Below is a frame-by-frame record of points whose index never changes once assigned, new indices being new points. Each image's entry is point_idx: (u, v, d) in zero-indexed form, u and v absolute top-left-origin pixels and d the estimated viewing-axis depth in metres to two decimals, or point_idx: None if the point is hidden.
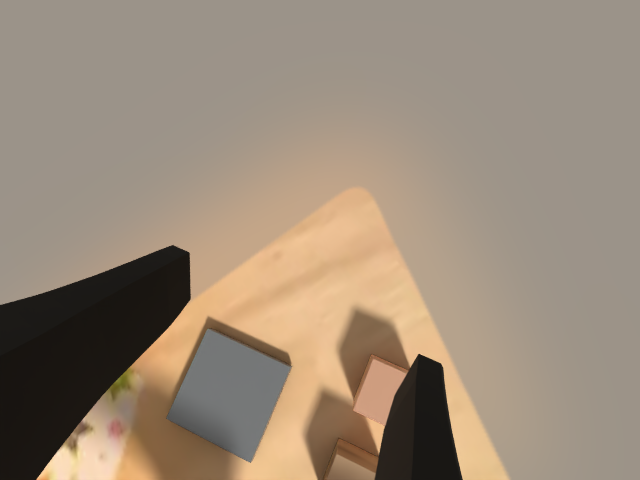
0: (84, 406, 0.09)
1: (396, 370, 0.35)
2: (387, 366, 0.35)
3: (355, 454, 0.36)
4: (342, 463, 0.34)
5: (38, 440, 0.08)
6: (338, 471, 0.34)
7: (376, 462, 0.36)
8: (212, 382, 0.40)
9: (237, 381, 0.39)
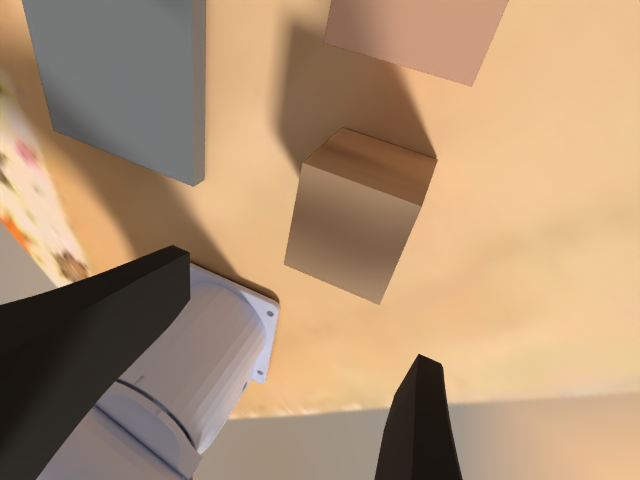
0: (84, 406, 0.09)
1: None
2: None
3: (365, 158, 0.15)
4: (318, 181, 0.14)
5: (39, 440, 0.08)
6: (313, 199, 0.14)
7: (420, 170, 0.15)
8: (75, 51, 0.19)
9: (110, 37, 0.18)
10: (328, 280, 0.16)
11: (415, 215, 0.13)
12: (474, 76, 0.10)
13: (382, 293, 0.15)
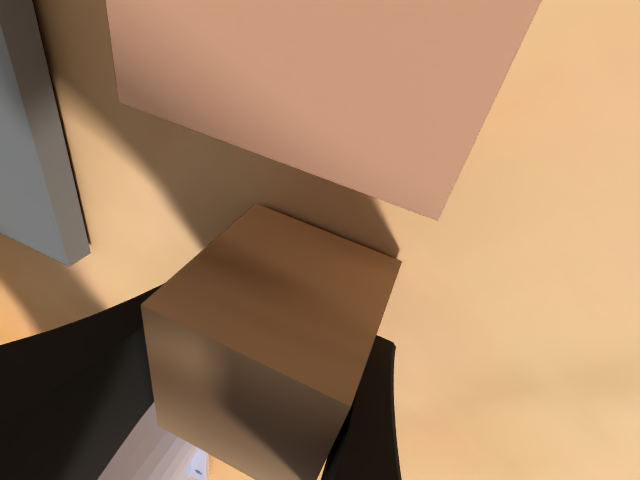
0: (125, 429, 0.09)
1: None
2: None
3: (274, 274, 0.09)
4: (173, 336, 0.08)
5: (84, 467, 0.08)
6: (172, 357, 0.08)
7: (367, 294, 0.09)
8: None
9: None
10: (224, 459, 0.10)
11: (341, 416, 0.07)
12: (442, 199, 0.04)
13: None
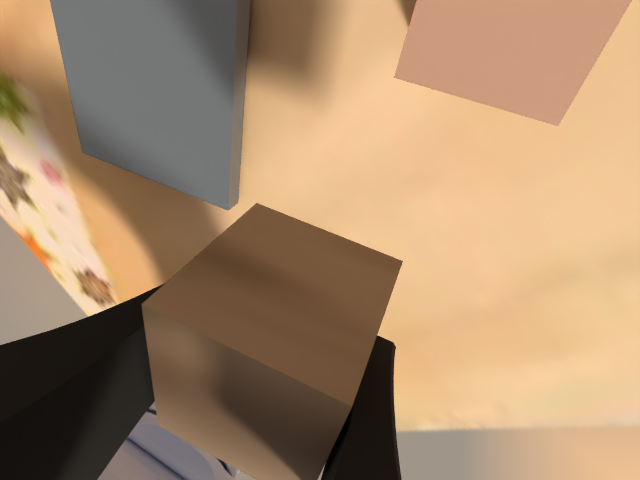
0: (125, 429, 0.09)
1: None
2: None
3: (275, 274, 0.09)
4: (174, 335, 0.08)
5: (84, 468, 0.08)
6: (173, 357, 0.08)
7: (368, 293, 0.09)
8: (109, 74, 0.19)
9: (147, 62, 0.17)
10: (224, 459, 0.10)
11: (343, 416, 0.07)
12: (561, 115, 0.10)
13: None
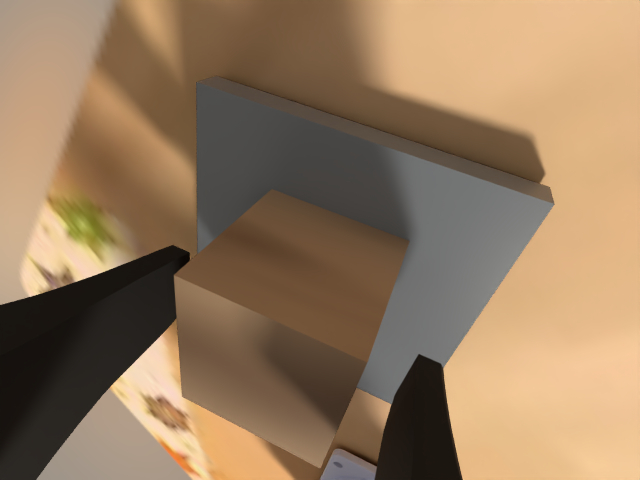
0: (84, 406, 0.09)
1: None
2: None
3: (292, 251, 0.10)
4: (203, 304, 0.08)
5: (38, 440, 0.08)
6: (201, 326, 0.09)
7: (378, 268, 0.10)
8: None
9: None
10: (244, 426, 0.11)
11: (358, 372, 0.08)
12: None
13: (322, 457, 0.10)
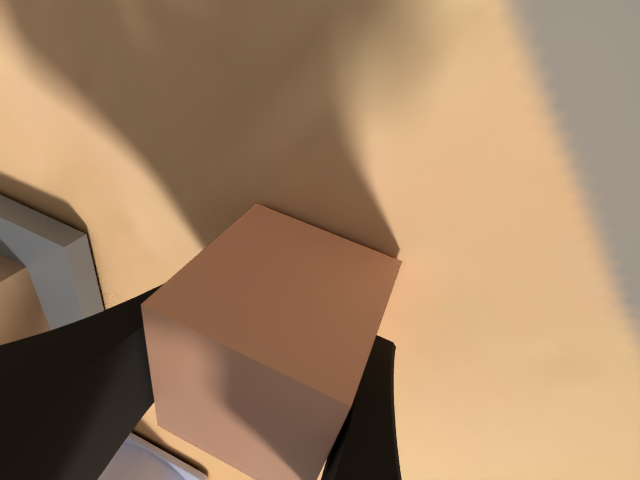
0: (125, 430, 0.09)
1: (243, 357, 0.07)
2: (203, 338, 0.07)
3: None
4: None
5: (84, 468, 0.08)
6: None
7: None
8: None
9: None
10: None
11: None
12: None
13: None
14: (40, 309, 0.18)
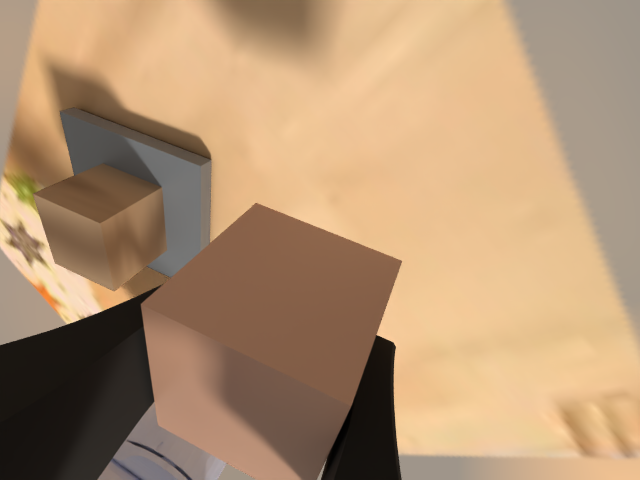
0: (125, 429, 0.09)
1: (243, 357, 0.07)
2: (203, 337, 0.07)
3: (94, 188, 0.22)
4: (45, 206, 0.20)
5: (84, 467, 0.08)
6: (48, 218, 0.21)
7: (133, 196, 0.22)
8: None
9: None
10: (81, 274, 0.23)
11: (100, 229, 0.20)
12: None
13: (111, 283, 0.22)
14: (163, 223, 0.24)
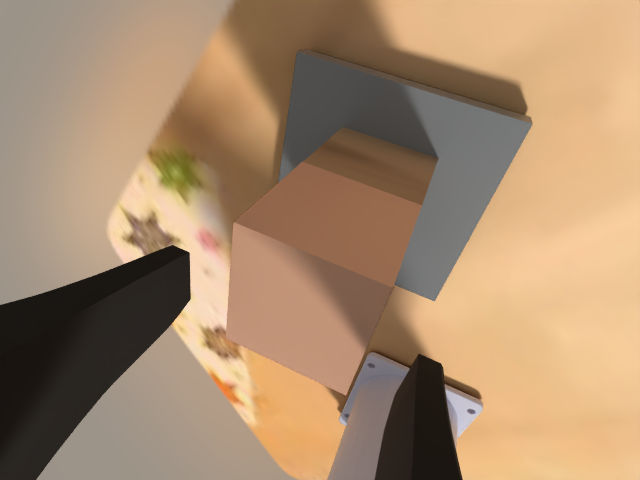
0: (84, 406, 0.09)
1: (312, 257, 0.10)
2: (281, 245, 0.10)
3: (366, 157, 0.15)
4: None
5: (38, 440, 0.08)
6: None
7: (421, 169, 0.15)
8: None
9: None
10: None
11: None
12: (346, 390, 0.12)
13: None
14: None
